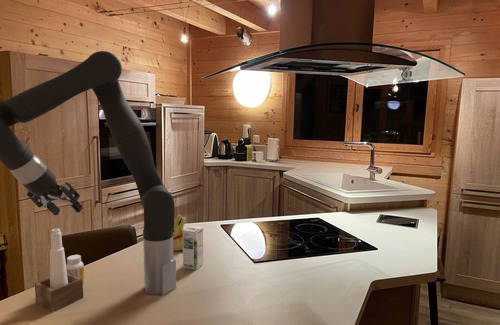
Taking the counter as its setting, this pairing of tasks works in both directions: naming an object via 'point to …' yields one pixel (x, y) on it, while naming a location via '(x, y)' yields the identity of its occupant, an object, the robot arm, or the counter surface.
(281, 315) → the counter surface
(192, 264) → the syrup box
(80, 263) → the supplement bottle
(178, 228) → the chocolate bunny
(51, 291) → the holder
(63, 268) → the cosmetic bottle
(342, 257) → the counter surface
